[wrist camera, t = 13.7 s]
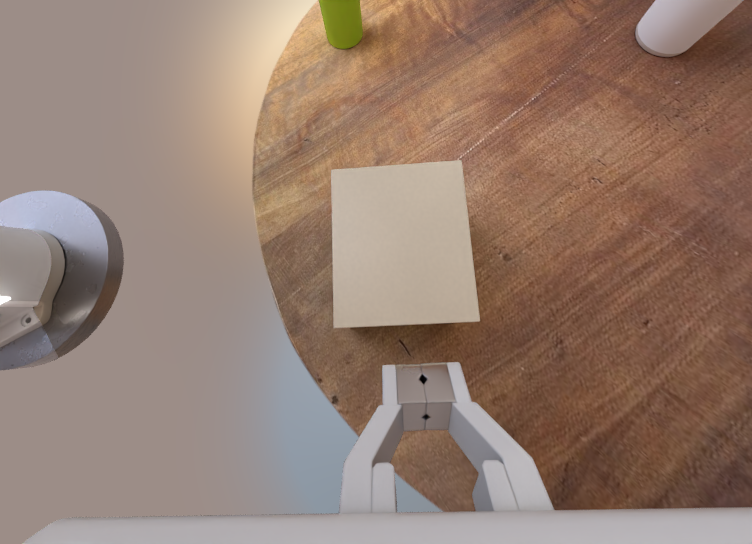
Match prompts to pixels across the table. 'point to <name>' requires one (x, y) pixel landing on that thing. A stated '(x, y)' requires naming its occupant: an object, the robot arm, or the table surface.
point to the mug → (679, 24)
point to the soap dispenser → (342, 22)
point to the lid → (402, 246)
